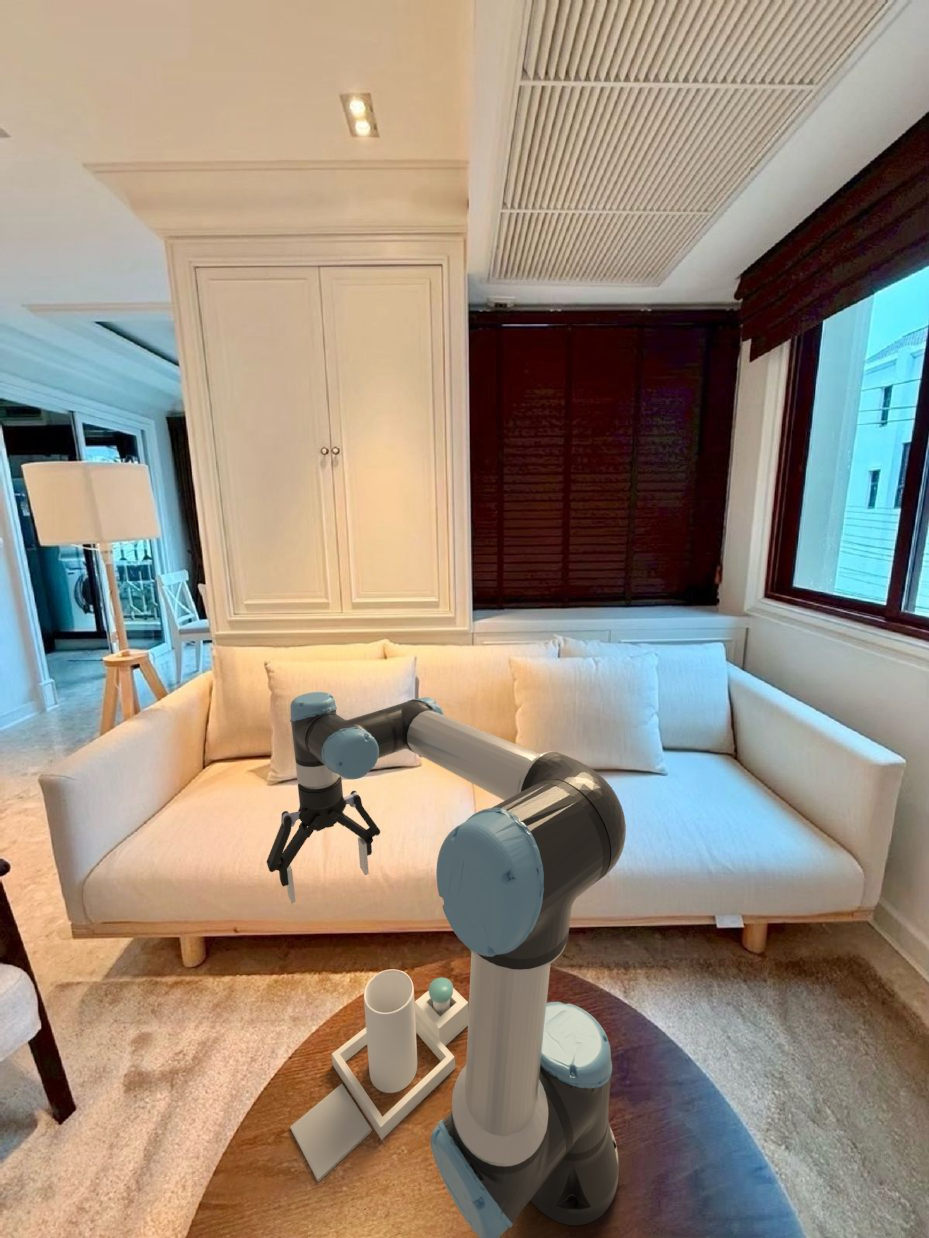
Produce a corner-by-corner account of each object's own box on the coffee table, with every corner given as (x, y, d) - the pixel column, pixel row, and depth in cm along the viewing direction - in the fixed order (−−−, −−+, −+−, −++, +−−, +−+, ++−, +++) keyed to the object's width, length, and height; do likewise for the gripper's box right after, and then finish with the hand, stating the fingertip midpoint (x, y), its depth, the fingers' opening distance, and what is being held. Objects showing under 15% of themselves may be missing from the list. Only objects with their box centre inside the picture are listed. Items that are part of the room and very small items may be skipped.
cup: (421, 1044, 93) (417, 970, 90) (412, 1095, 85) (408, 1015, 82) (376, 1041, 94) (371, 967, 91) (363, 1090, 86) (357, 1011, 83)
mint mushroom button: (458, 1009, 96) (457, 988, 95) (440, 1025, 93) (439, 1003, 92) (443, 994, 99) (442, 973, 98) (424, 1009, 97) (424, 987, 96)
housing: (483, 1040, 94) (483, 1017, 93) (381, 1139, 80) (379, 1114, 78) (431, 986, 105) (430, 965, 104) (332, 1065, 90) (330, 1041, 89)
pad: (371, 1131, 81) (371, 1128, 81) (318, 1182, 75) (317, 1179, 75) (342, 1085, 87) (341, 1083, 87) (290, 1128, 81) (290, 1126, 81)
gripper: (378, 753, 102) (384, 849, 106) (241, 789, 90) (254, 897, 94) (393, 768, 95) (399, 870, 100) (247, 810, 83) (262, 924, 88)
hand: (329, 883), depth 97 cm, fingers open, 13 cm apart
